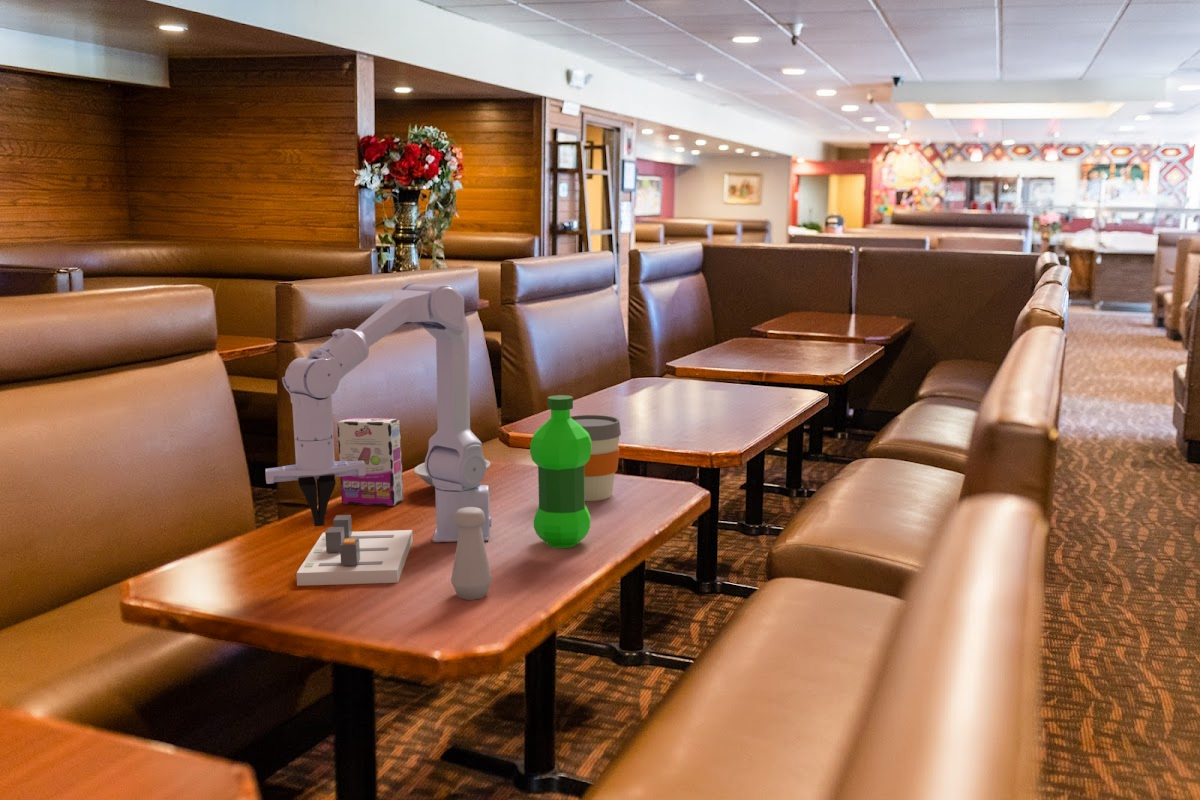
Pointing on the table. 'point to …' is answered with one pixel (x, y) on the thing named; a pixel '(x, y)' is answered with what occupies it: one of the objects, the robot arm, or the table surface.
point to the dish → (422, 473)
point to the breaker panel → (376, 563)
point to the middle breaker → (334, 538)
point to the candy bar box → (372, 461)
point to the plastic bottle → (561, 476)
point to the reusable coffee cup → (600, 455)
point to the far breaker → (344, 524)
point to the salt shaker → (470, 556)
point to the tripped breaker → (350, 551)
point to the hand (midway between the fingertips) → (318, 524)
